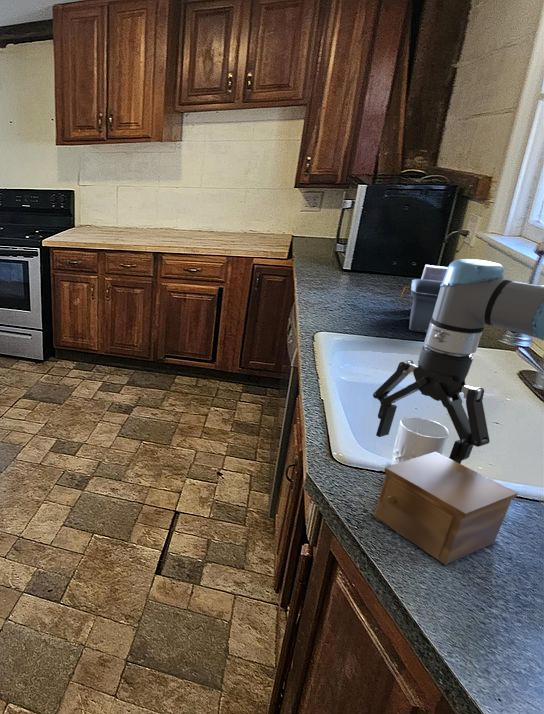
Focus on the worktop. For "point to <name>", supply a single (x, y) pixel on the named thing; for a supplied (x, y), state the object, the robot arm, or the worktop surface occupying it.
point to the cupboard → (442, 506)
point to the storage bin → (422, 303)
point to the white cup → (418, 439)
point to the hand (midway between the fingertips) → (414, 452)
